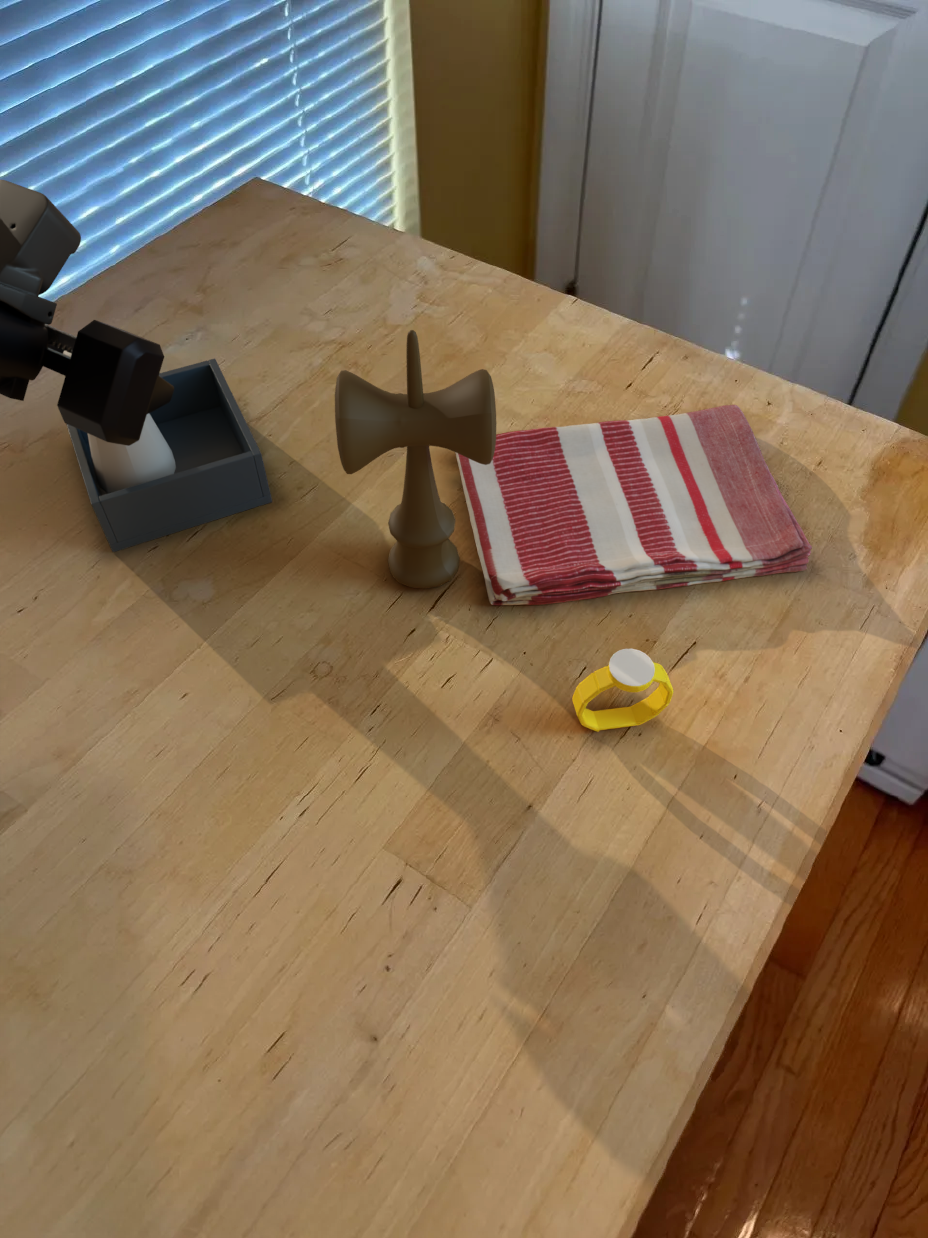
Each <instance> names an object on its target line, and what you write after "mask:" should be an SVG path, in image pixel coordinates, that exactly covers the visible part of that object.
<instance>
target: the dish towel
mask: <svg viewBox="0 0 928 1238" xmlns="http://www.w3.org/2000/svg"><path fill="white" fill-rule="evenodd" d="M454 453H455V457H456V461H457V465H458V469H459V475H460V480H461V485H462V488H463V489H462V490H463V494H464V498H465V502H466V503H465V504H466V507H467V510H468V515H469V520H470V525H471V528H472V532H473V538H474V542H475V546H476V550H477V555H478V559H479V562H480V566H481V569H482V574H483V578H484V582H485V587H486V588H485V589H486V592H487V597H488V601H489V604H490V605H492V606H517V605H530V606H531V605H550V604H558V603H565V602H573V601H574V602H575V601H583V600H591V599H597V598H603V597H607V596H610V595H613V594H614V595H615V594H618V593H629V592H643V591H652V590H654V591H655V590H664V589H670V588H679V587H688V586H692V585H699V584H708V583H717V582H718V583H719V582H725V581H730V580H731V581H732V580H735V579H736V580H737V579H745V578H751V577H760V576H761V577H762V576H763V577H764V576H770V575H775V574H783V573H795V572H797V573H798V572H802V571H803V572H804V571H807V569H808V565H807V564H809V562H810V560H809V557H810V555H812V551H811V550H812V549H813V546H812V545H811V544H810V542H809V539H807V536H806V534H805V533H804V531H803V528H802V527H801V525H800V524H799V522H798V521H797V518H796V517H795V515H794V513H793V512H792V510H791V508H790V506H789V505H788V503H787V502H786V500H785V498H784V496H783V494H782V492H781V491H780V489H779V486H778V484H777V482H776V480H775V478H774V476H773V475H772V473H771V471H770V469H769V466H768V464H767V463H766V460H765V458H764V455H763V453H762V450H761V448H760V446H759V444H758V441H757V438H756V436H755V434H754V431H753V429H752V426H751V425H750V423H749V421H748V419H747V417H746V415H745V414H744V412H743V411H742V409H741V408H740V407H739V405H737V404H724V405H720V406H715V407H710V408H704V409H700V410H694V411H689V412H683V413H677V414H670V415H668V414H667V415H660V416H654V417H648V418H647V417H646V418H636V419H630V420H629V419H622V420H621V419H620V420H606V421H599V422H594V423H582V424H581V423H580V424H571V425H564V426H549V427H547V426H546V427H540V428H531V429H520V430H514V431H505V432H501V433H496V446H495V452H494V456H493V459H492V461H491V463H490V464H487V465H484V464H480V463H478V462H475V461H473V460H471V459H469V458H467V457H465V456H463V455H460V454H458V453H456V452H454Z"/></svg>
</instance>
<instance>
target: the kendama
mask: <svg viewBox="0 0 928 1238" xmlns="http://www.w3.org/2000/svg"><path fill="white" fill-rule="evenodd" d="M406 335H407V336H406V353H405V355H406V393H401V392H398V393H393V392H389V391H386V390H385V389H382V388H379V387H378V386H376V385H374V384H372V383H371V382H369V381H367V380H366V379H364V378H362V377H361V376H358V375H357V374H355V373H353V372H351V371H349V370H346V369H343V370H340V372H339V373H338V375H337V377H336V382H335V389H334V422H335V423H334V424H335V434H336V443H337V451H338V455H339V459H340V463H341V466H342V469H343V471H344V472H345V474H346V475H353V474H355V473H357V472H358V471H360V470H362V469H363V468H365V467H366V466H368V465H369V464H370V463H372V462H374V460H376V459H377V458H380V457H382V456H383V455H384V454H385V453H387V452H389V451H392V450H394V449H398V448H401V449H402V448H403V449H404V448H406V454H405V456H406V457H405V471H404V481H403V490H402V495H401V496H402V497H401V501H400V503H399V504H397V505H396V506H395V508H394V509H393V510H392V511H391V512H390V514H389V518H388V522H387V524H388V529H389V533H390V535H391V536H392V537H393V538H394V539H395V540H396V541H395V543H394V544H393V545H392V546H391V548H390V550H389V554H388V557H387V558H388V559H387V563H388V568H389V572H390V574H391V576H392V577H393V578H394V580H396V582H397V583H399V584H401V585H404V586H406V587H408V588H412V589H413V588H414V589H430V588H436V587H441V586H442V585H444V584H446V583H448V582H450V581H452V580H453V579H454V577H455V576H456V574H457V573H458V572H459V566H460V561H461V560H460V559H461V557H460V554H459V551H458V547H457V546H456V545H455V544H454V542H452V540H450V537H451V536H452V535H453V533H454V532H455V527H456V518H455V515H454V512H453V510H452V509H451V507H449V506H448V505H447V504H446V502H442V501H441V498H440V495H439V492H438V487H437V482H436V478H435V472H434V467H433V463H432V457H431V451H430V447H437V448H438V447H439V448H443V449H447V450H449V451H452V452H454V453H455V452H456V453H458V454H460V455H463V456H465V457H467V458H469V459H471V460H473V461H475V462H478V463H480V464H484V465H487V464H490V463H491V461H492V459H493V456H494V452H495V446H496V435H497V405H496V404H497V403H496V393H495V387H494V382H493V378H492V376H491V374H490V373H489V371H488V370H487V369H484V368H481V369H479V370H476V371H473V372H472V373H470V374H468V375H466V376H464V377H463V378H461V379H459V380H458V381H456V382H454V383H452V384H451V385H449V386H447V387H445V388H442V389H440V390H436V391H431V392H425V393H424V386H423V385H424V384H423V374H422V364H421V363H422V362H421V353H420V352H421V351H420V346H419V345H420V344H419V338H418V334H417V331H415V330H414V329H410V330H409V331H408V332H407V334H406ZM456 453H455V454H456Z"/></svg>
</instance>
